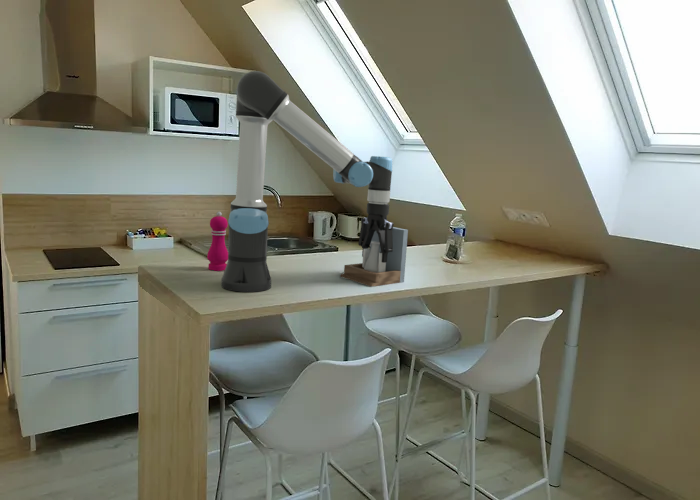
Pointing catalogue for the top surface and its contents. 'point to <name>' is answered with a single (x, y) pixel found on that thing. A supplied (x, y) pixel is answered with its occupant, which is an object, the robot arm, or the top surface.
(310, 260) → the top surface
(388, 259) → the wall board
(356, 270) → the wooden tray
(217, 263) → the pepper mill
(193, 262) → the top surface
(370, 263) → the flask
